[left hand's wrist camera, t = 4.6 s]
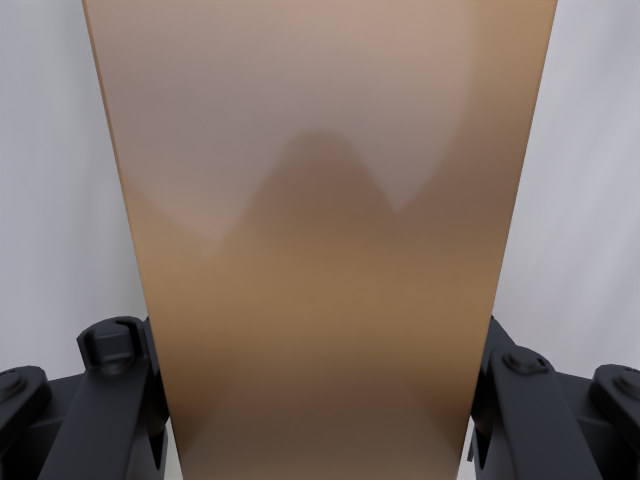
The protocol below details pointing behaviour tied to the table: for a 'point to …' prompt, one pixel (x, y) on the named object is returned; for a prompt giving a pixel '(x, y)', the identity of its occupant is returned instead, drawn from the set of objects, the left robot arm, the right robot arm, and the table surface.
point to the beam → (319, 218)
